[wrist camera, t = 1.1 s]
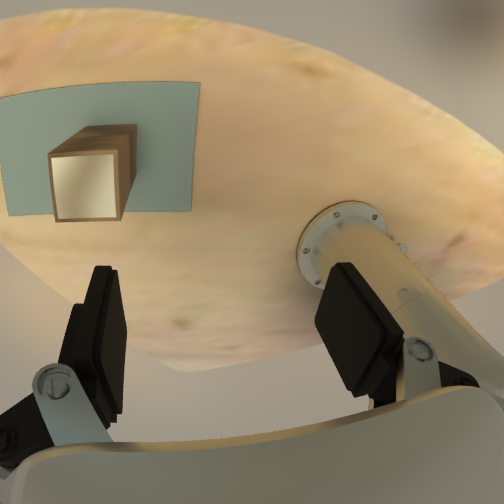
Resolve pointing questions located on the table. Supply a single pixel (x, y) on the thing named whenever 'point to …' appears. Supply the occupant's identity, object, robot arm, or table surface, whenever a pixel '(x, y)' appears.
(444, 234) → the table surface
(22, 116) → the mat
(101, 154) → the block
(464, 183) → the table surface
